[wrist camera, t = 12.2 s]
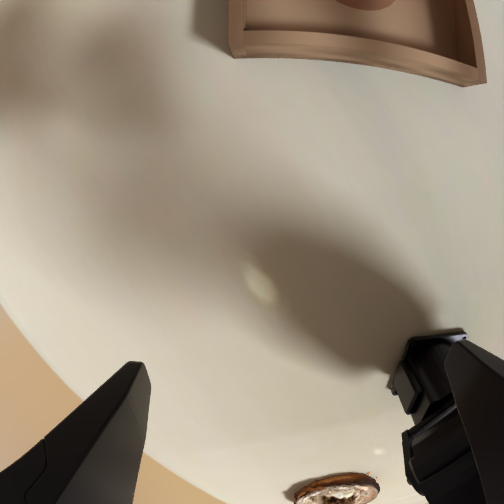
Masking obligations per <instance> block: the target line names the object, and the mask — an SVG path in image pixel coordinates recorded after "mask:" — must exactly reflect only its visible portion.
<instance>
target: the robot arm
mask: <svg viewBox="0 0 504 504" xmlns="http://www.w3.org/2000/svg"><path fill="white" fill-rule="evenodd" d="M467 339H468V334H467V333H466V332H458V333H450V334H442V335H433V336H423V337H413V338H411V339H410V340H409V341H408V342H407V345H406V349H405V352H404V355H403V358H402V360H401V362H400V364H399V367H398V370H397V372H396V375H395V378H394V381H393V386H392V389H391V392H392V394H393V395H398V396H399V398H400V401H401V403H402V406H403V408H404V411H405V413H406V414H407V415H409V414H411V416H412V419H413V421H414V424H415V426H413V427H412V428H410V429H409V430H406V431H404V432H403V433H402V446H403V454H404V464H405V474H406V477H407V482H408V484H409V485H412V486H413V488H414V489H415V490H416V491H417V492H418V493H419V494H420V495H422V496H425V497H426V499H427V501H428V503H429V504H504V360H502V359H501V358H499V357H497V356H495V355H493V354H492V353H490V352H488V351H486V350H484V349H483V348H481V347H479V346H477V345H475V344H474V343H472V342H470V341H468V340H467ZM413 343H414V344H413ZM150 394H151V383H150V379H149V376H148V373H147V370H146V367H145V365H144V363H143V362H137V361H129V362H127V363H126V364H125V365H124V366H122V367H121V368H120V369H119V370H118V371H117V372H116V373H115V374H114V375H112V376H111V377H110V378H109V379H108V380H107V381H106V382H105V383H104V384H103V385H101V386H100V387H99V388H98V389H97V390H96V391H95V392H94V393H93V394H91V395H90V396H89V397H88V398H87V399H86V400H85V401H84V402H83V403H82V404H81V405H79V406H78V407H77V408H76V409H75V410H74V411H73V412H71V413H70V414H69V415H68V416H67V417H66V418H65V419H64V420H63V421H62V422H60V423H59V424H58V425H57V426H56V427H55V428H54V429H53V430H51V431H50V432H49V433H48V434H47V435H46V436H45V437H44V439H41V440H40V441H39V442H38V443H37V444H36V445H35V446H34V447H32V448H31V449H30V450H29V451H28V452H27V453H25V454H24V455H23V456H22V457H21V458H19V459H18V460H17V461H15V462H14V463H13V464H11V465H10V466H9V467H7V468H6V469H4V470H3V471H2V472H0V504H132V503H133V497H134V492H135V487H136V482H137V477H138V472H139V467H140V462H141V458H142V453H143V449H144V444H145V439H146V431H147V421H148V412H149V403H150Z"/></svg>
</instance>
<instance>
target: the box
mask: <svg viewBox="0 0 504 504" xmlns="http://www.w3.org/2000/svg"><path fill="white" fill-rule="evenodd" d="M228 46H229V48H230V50H231V52H232V55H233V57H234V59H236V58H295V59H313V60H326V61H336V62H346V63H354V64H361V65H368V66H374V67H380V68H386V69H392V70H397V71H402V72H407V73H411V74H416V75H420V76H424V77H428V78H432V79H436V80H440V81H443V82H447V83H450V84H454V85H457V86H460V87H467V86H473V85H478V84H484V83H487V78H486V68H485V60H484V53H483V46H482V40H481V34H480V29H479V24H478V19H477V14H476V10H475V6H474V2H473V0H395V1H394V2H393V3H392V4H391V5H390V6H388V7H386V8H384V9H381V10H373V11H368V10H360V9H356V8H352V7H349V6H346V5H344V4H342V3H340V2H338V1H336V0H229V1H228Z"/></svg>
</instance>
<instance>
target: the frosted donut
mask: <svg viewBox="0 0 504 504" xmlns="http://www.w3.org/2000/svg"><path fill="white" fill-rule="evenodd" d="M369 473H370V472H368V473H367V474H368V475H369ZM376 478H377V477H376ZM379 491H380V486H379V484H378V483H376V480H375V479H373V478H370V477H367V476H366V475H365V474H346V475H340V476H336V477H331V478H327V479H323V480H320V481H318V482H316V481H314V483H312V484H310V485H308V486H306V487H304V488H303V489H301V490H300V491H298V492H296V493H295V494H294V495H295V496H294V497H295V499H296V501H295V502H294V504H366V503H369V502H371V501H373V500H374V499H375V498H376V497H377V494H378V493H379Z"/></svg>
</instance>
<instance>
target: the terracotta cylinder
mask: <svg viewBox="0 0 504 504" xmlns="http://www.w3.org/2000/svg"><path fill="white" fill-rule="evenodd" d="M336 1H338V2H340V3H342V4H344V5H346V6H349V7H352V8H356V9H360V10H368V11H373V10H381V9H384V8H386V7H388V6H390V5H391V4H392V3H393V2H394V1H395V0H336Z"/></svg>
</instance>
